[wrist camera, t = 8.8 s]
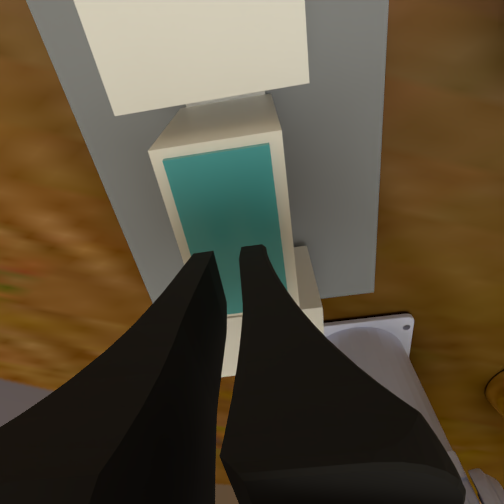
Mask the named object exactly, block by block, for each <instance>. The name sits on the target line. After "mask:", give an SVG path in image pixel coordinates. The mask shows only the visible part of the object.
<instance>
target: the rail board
mask: <svg viewBox="0 0 504 504" xmlns="http://www.w3.org/2000/svg"><path fill="white" fill-rule="evenodd" d="M26 1H27V4H28V6H29V9H30V11H31V13H32V16H33V18H34V21H35V23H36V25H37V28H38V30H39V32H40V35H41V37H42V40H43V42H44V44H45V47H46V49H47V52H48V54H49V56H50V59H51V61H52V64H53V66H54V68H55V71H56V73H57V75H58V78H59V80H60V83H61V85H62V87H63V90H64V92H65V95H66V97H67V99H68V102H69V104H70V107H71V109H72V111H73V114H74V116H75V118H76V121H77V123H78V126H79V128H80V130H81V133H82V135H83V138H84V140H85V142H86V145H87V147H88V150H89V152H90V154H91V157H92V159H93V161H94V164H95V166H96V169H97V171H98V173H99V176H100V178H101V181H102V183H103V185H104V188H105V190H106V193H107V195H108V197H109V200H110V202H111V204H112V207H113V209H114V212H115V214H116V216H117V219H118V221H119V224H120V226H121V228H122V231H123V233H124V236H125V238H126V240H127V243H128V245H129V247H130V250H131V252H132V255H133V257H134V259H135V262H136V264H137V267H138V269H139V271H140V274H141V276H142V279H143V281H144V283H145V286H146V288H147V290H148V293H149V295H150V298H151V300H152V302H153V303H154V302H155V301H156V300H157V298H158V297H159V296H160V295H161V294H162V292H163V291H164V290H165V289H166V288H167V286H168V285H169V284H170V283H171V281H172V280H173V279H174V278H175V276H176V275H177V274H178V272H179V271H180V270H181V269H182V267H183V266H184V263H183V260H182V256H181V253H180V250H179V247H178V244H177V241H176V238H175V235H174V231H173V228H172V225H171V222H170V219H169V216H168V213H167V210H166V206H165V203H164V200H163V197H162V194H161V191H160V188H159V185H158V181H157V178H156V175H155V172H154V169H153V166H152V163H151V160H150V156H149V153H148V150H149V149H150V147H151V146H152V145H153V144H154V142H155V141H156V140H157V138H158V137H159V136H160V134H161V133H162V132H163V131H164V129H165V128H166V127H167V125H168V124H169V123H170V121H171V120H172V119H173V118H174V116H175V115H176V114H177V112H178V111H179V110H180V108H185V107H191V106H198V105H204V104H210V103H216V102H222V101H228V100H234V99H240V98H246V97H252V96H258V95H264V94H270V93H271V96H272V99H273V102H274V106H275V109H276V112H277V116H278V119H279V122H280V126H281V129H282V137H283V147H284V157H285V167H286V177H287V187H288V197H289V207H290V217H291V226H292V236H293V246H294V256H295V266H296V276H297V286H298V296H299V306H300V309H301V310H302V311H303V312H304V314H305V315H306V316H307V317H308V318H309V319H310V321H311V322H312V323H313V324H314V325H315V326H316V327H317V328H318V329H319V330H320V331H321V332H322V333H323V334H324V324H323V307H322V303H321V298H330V297H338V296H346V295H355V294H363V293H371V292H374V281H375V262H376V242H377V222H378V203H379V183H380V163H381V144H382V124H383V104H384V85H385V65H386V45H387V25H388V6H389V0H26ZM242 316H243V315H237V316H228V317H227V334H226V343H225V351H224V359H223V366H222V374H221V377H226V376H236V369H237V363H238V354H239V346H240V338H241V327H242Z"/></svg>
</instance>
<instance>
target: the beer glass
mask: <svg viewBox="0 0 504 504" xmlns="http://www.w3.org/2000/svg"><path fill="white" fill-rule="evenodd" d="M485 394H486V397H487V399H488V401H489V402H490V404H491V405H492V406H493V407H494V408H495V409H496V411H497V412H498V413H499V414H500V415H501V416H502V417H503V418H504V371H502V372H500V373H499V374H497V375H496V376H495V377H494V378H493V379H492V380H491V381H490V382H489V384H488V385H487V388H486V391H485Z"/></svg>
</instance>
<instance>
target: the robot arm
mask: <svg viewBox="0 0 504 504" xmlns="http://www.w3.org/2000/svg"><path fill="white" fill-rule="evenodd" d="M239 267H240V279H241V290H242V302H243V316H242V327H241V338H240V346H239V354H238V363H237V369H236V376H235V382H234V388H233V395H232V400H231V405H230V410H229V415H228V420H227V425H226V430H225V435H224V440H223V444H222V448H221V453H220V458H221V461H222V463H223V466H224V468H225V470H226V473H227V475H228V478H229V480H230V483H231V485H232V488H233V490H234V492H235V495H236V497H237V500H238V502H239V504H480V503H479V501H478V499H477V497H476V495H475V493H474V491H473V489H472V486H471V484H470V482H469V480H468V478H467V476H466V474H465V472H464V470H463V468H462V466H461V463H460V461H459V459H458V457H457V455H456V453H455V452H454V451H452V448H451V446H450V444H449V442H448V440H447V438H446V436H445V434H444V431H443V429H442V427H441V425H440V423H439V421H438V419H437V417H436V415H435V412H434V410H433V408H432V406H431V404H430V402H429V400H428V398H427V396H426V393H425V391H424V389H423V387H422V385H421V383H420V381H419V379H418V376H417V374H416V372H415V370H414V368H413V366H412V364H411V362H410V360H409V354H410V347H411V340H412V333H413V326H414V318H413V316H412V315H411V314H398V315H389V316H381V317H372V318H363V319H355V320H346V321H337V322H329V323H323V324H324V334H323V333H322V332H321V331H320V330H319V329H318V328H317V327H316V326H315V325H314V324H313V323H312V322H311V321H310V319H309V318H308V317H307V316H306V315H305V314H304V312H303V311H302V310H301V309H300V307H299V306H298V305H297V304H296V302H295V301H294V300H293V298H292V297H291V296H290V294H289V293H288V291H287V290H286V288H285V287H284V285H283V284H282V282H281V280H280V279H279V277H278V275H277V274H276V272H275V270H274V268H273V266H272V264H271V262H270V260H269V257H268V254H267V249H266V247H265V246H264V245H262V244H259V245H252V246H244V247H241V251H240V256H239ZM405 325H406V326H405ZM226 334H227V301H226V297H225V293H224V289H223V285H222V282H221V278H220V274H219V270H218V266H217V262H216V259H215V255H214V251H207V252H200V253H193V255H192V256H191V257H190V258H189V260H188V261H187V262H186V263H185V265H184V266H183V267H182V269H181V270H180V271H179V272H178V274H177V275H176V276H175V278H174V279H173V280H172V281H171V283H170V284H169V285H168V286H167V288H166V289H165V290H164V291H163V292H162V294H161V295H160V296H159V297H158V298H157V300H156V301H155V302H154V303H153V304H152V305H151V306H150V307H149V308H148V310H147V311H146V312H145V313H144V314H143V315H142V316H141V317H140V318H139V320H138V321H137V322H136V323H135V324H134V325H133V326H132V327H131V328H130V329H129V330H128V331H127V332H126V333H125V334H124V335H122V336H121V337H120V338H119V339H118V340H117V341H116V342H115V343H114V344H113V345H112V346H110V347H109V348H108V349H107V350H106V351H105V352H104V353H102V354H101V355H100V356H99V357H98V358H96V359H95V360H94V361H93V362H91V363H90V364H89V365H88V366H86V367H85V368H84V369H83V370H81V371H80V372H79V373H78V374H77V375H75V376H74V377H73V378H72V379H70V380H69V381H68V382H66V383H65V384H63V385H62V386H61V387H59V388H58V389H57V390H55V391H54V392H52V393H51V394H50V395H48V396H47V397H45V398H44V399H42V400H41V401H40V402H38V403H37V404H35V405H34V406H32V407H31V408H29V409H28V410H26V411H25V412H24V413H22V414H21V415H19V416H17V417H16V418H14V419H13V420H11V421H9V422H8V423H6V424H5V425H3V426H1V427H0V504H215V459H216V423H217V407H218V397H219V389H220V381H221V374H222V366H223V359H224V351H225V343H226ZM468 472H469V474H470V477H471V479H472V481H473V483H474V485H475V487H476V490H477V492H478V497H479V499H480V501H481V503H482V504H504V490H503V488H502V486H501V485H500V483H499V482H498V481H497V480H496V479H494V478H493V477H491V476H489V475H487V474H484V473H483V471H482V470H481V469H479V468H476V469H472V470H469V471H468Z"/></svg>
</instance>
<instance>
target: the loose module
mask: <svg viewBox="0 0 504 504" xmlns="http://www.w3.org/2000/svg"><path fill="white" fill-rule="evenodd" d="M148 153H149V156H150V160H151V163H152V166H153V169H154V172H155V175H156V178H157V181H158V185H159V188H160V191H161V194H162V197H163V200H164V203H165V206H166V210H167V213H168V216H169V219H170V222H171V225H172V228H173V231H174V235H175V238H176V241H177V244H178V247H179V250H180V253H181V256H182V260H183V263H184V265H185V263H186V262H187V261H188V260H189V258H190V257H191V256H192V255H193V253H200V252H207V251H214V255H215V259H216V262H217V266H218V270H219V274H220V278H221V282H222V285H223V289H224V293H225V297H226V301H227V317H228V316H237V315H243V302H242V290H241V279H240V267H239V256H240V251H241V247H244V246H252V245H259V244H262V245H264V246H265V247H266V249H267V254H268V257H269V260H270V262H271V264H272V266H273V268H274V270H275V272H276V274H277V275H278V277H279V279H280V280H281V282H282V284H283V285H284V287H285V288H286V290H287V291H288V293H289V294H290V296H291V297H292V298H293V300H294V301H295V302H296V304H297V305H298V306H299V296H298V286H297V276H296V266H295V256H294V246H293V236H292V226H291V217H290V207H289V197H288V187H287V177H286V167H285V157H284V147H283V137H282V129H281V126H280V122H279V119H278V116H277V112H276V109H275V106H274V102H273V99H272V96H271V93H270V94H264V95H258V96H252V97H246V98H240V99H234V100H228V101H222V102H216V103H210V104H204V105H198V106H191V107H185V108H180V110H179V111H178V112H177V114H176V115H175V116H174V118H173V119H172V120H171V121H170V123H169V124H168V125H167V127H166V128H165V129H164V131H163V132H162V133H161V134H160V136H159V137H158V138H157V140H156V141H155V142H154V144H153V145H152V146H151V147H150V149H149V150H148ZM299 307H300V306H299Z"/></svg>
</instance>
